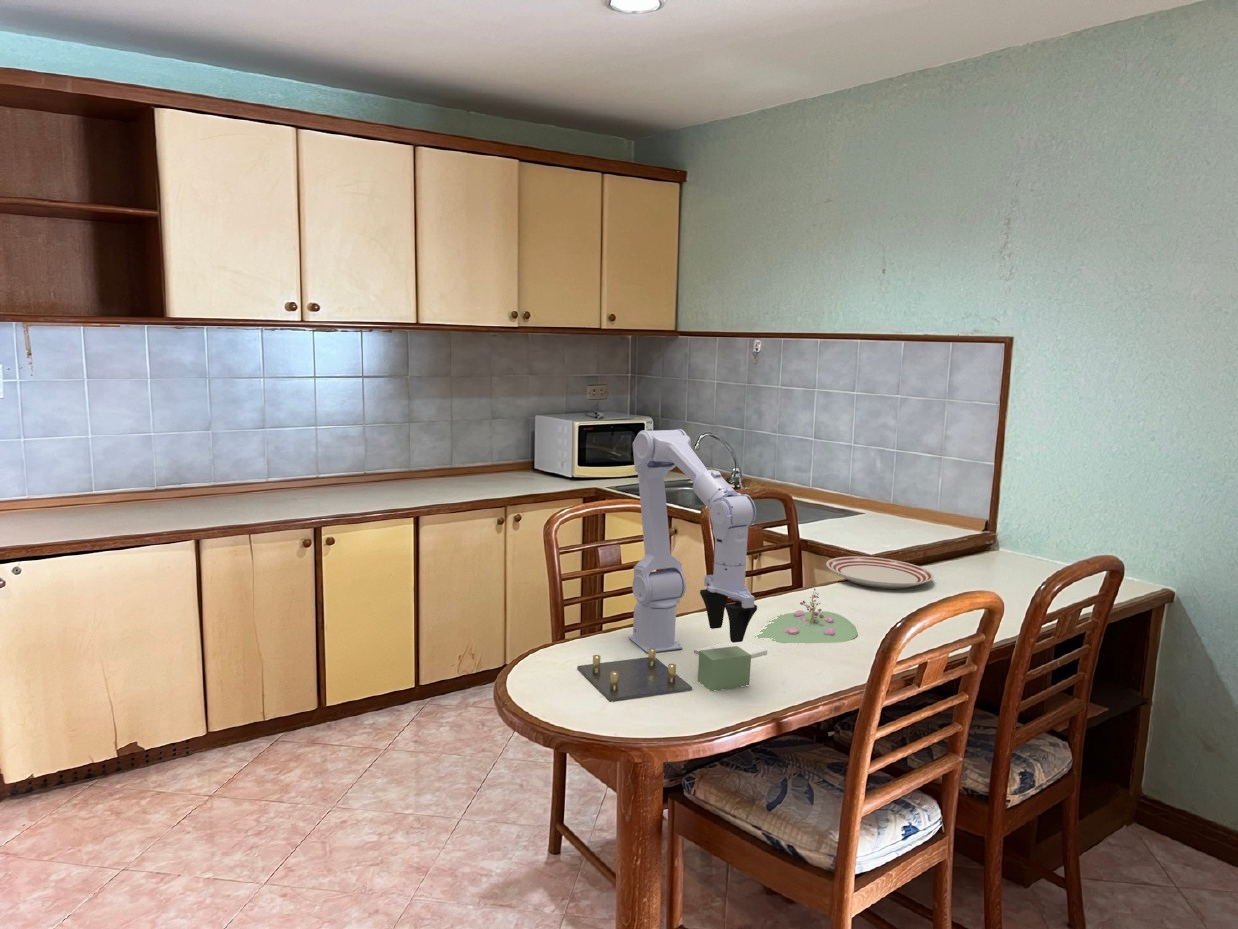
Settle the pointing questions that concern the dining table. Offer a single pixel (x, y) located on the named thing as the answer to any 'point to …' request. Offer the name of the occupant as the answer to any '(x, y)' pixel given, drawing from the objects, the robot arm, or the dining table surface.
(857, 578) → the dinner plate
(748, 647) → the external hard drive
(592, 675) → the chassis
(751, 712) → the dining table surface
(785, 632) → the plant
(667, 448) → the robot arm
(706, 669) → the board block
